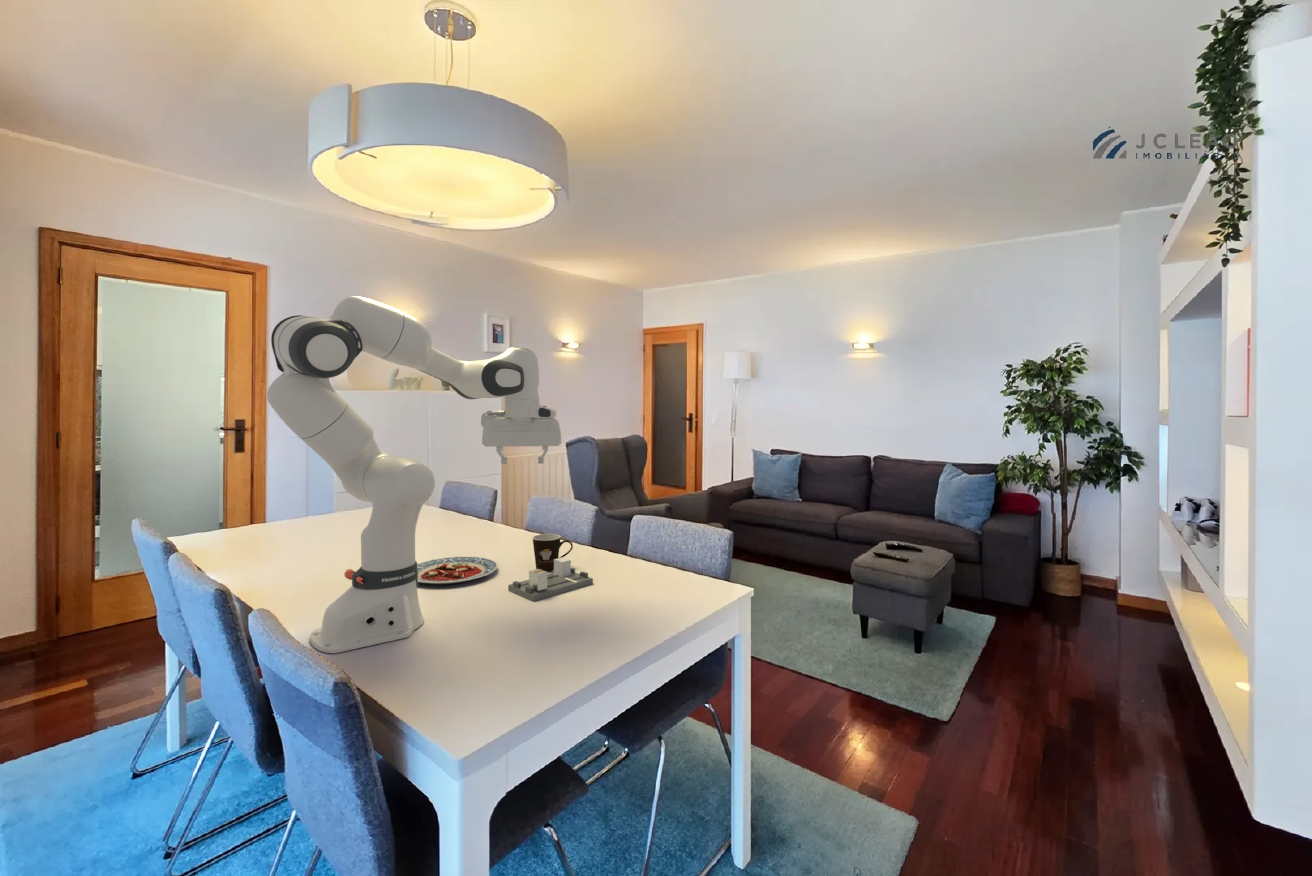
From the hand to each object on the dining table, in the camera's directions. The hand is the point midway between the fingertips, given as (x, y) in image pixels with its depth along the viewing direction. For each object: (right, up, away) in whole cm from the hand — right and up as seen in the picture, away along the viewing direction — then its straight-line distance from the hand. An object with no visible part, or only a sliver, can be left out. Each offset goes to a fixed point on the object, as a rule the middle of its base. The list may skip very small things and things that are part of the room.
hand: (522, 463), depth 144 cm
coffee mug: (+2, -34, +26) cm, 43 cm away
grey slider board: (+6, -35, +9) cm, 37 cm away
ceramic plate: (-26, -35, +20) cm, 47 cm away
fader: (+4, -33, +2) cm, 34 cm away
